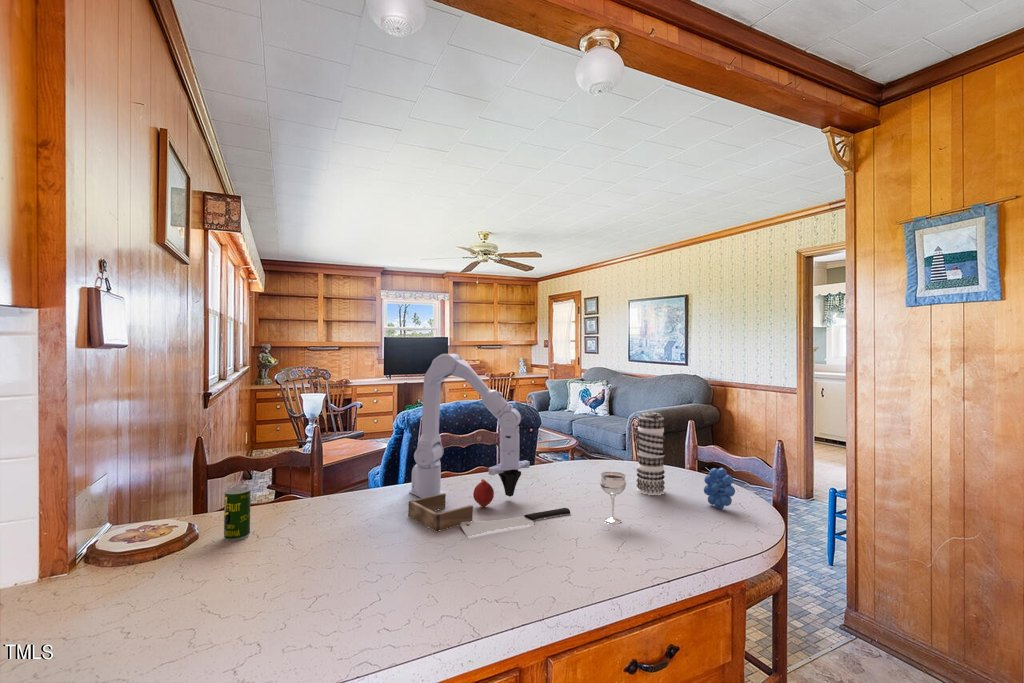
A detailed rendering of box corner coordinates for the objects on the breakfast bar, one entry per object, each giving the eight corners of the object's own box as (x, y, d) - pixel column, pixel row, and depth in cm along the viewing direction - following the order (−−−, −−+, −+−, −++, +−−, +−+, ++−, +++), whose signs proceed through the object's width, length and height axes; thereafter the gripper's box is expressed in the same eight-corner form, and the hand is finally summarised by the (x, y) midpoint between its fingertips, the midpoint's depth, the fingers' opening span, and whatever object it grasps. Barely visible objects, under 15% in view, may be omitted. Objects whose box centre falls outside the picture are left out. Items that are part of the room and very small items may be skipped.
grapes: (746, 514, 131) (746, 470, 131) (726, 516, 129) (726, 472, 129) (717, 501, 142) (717, 460, 142) (698, 502, 140) (698, 462, 140)
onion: (484, 502, 139) (484, 474, 139) (497, 507, 135) (498, 479, 135) (469, 506, 135) (469, 478, 135) (482, 512, 130) (482, 483, 131)
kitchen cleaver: (471, 539, 111) (457, 519, 120) (471, 546, 111) (457, 526, 120) (583, 520, 124) (563, 504, 133) (582, 526, 124) (563, 509, 133)
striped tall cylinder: (631, 487, 155) (631, 411, 155) (658, 487, 156) (658, 411, 156) (641, 496, 146) (642, 415, 146) (670, 495, 147) (671, 414, 147)
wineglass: (615, 527, 120) (615, 480, 120) (594, 519, 125) (594, 474, 125) (631, 521, 125) (631, 475, 125) (610, 514, 130) (610, 470, 130)
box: (408, 516, 127) (408, 501, 127) (443, 507, 134) (443, 493, 134) (436, 531, 116) (436, 515, 116) (472, 521, 123) (472, 505, 123)
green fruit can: (231, 532, 114) (232, 483, 114) (254, 532, 115) (255, 483, 115) (218, 542, 109) (219, 489, 109) (242, 542, 109) (243, 489, 109)
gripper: (499, 455, 133) (499, 503, 133) (536, 448, 143) (536, 493, 143) (484, 451, 139) (483, 497, 138) (521, 444, 148) (520, 488, 148)
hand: (509, 495), depth 141 cm, fingers closed
